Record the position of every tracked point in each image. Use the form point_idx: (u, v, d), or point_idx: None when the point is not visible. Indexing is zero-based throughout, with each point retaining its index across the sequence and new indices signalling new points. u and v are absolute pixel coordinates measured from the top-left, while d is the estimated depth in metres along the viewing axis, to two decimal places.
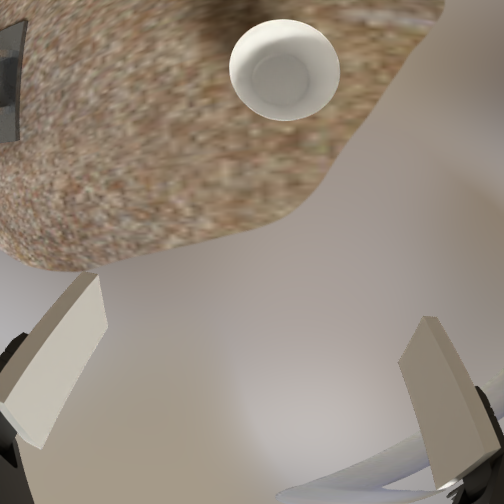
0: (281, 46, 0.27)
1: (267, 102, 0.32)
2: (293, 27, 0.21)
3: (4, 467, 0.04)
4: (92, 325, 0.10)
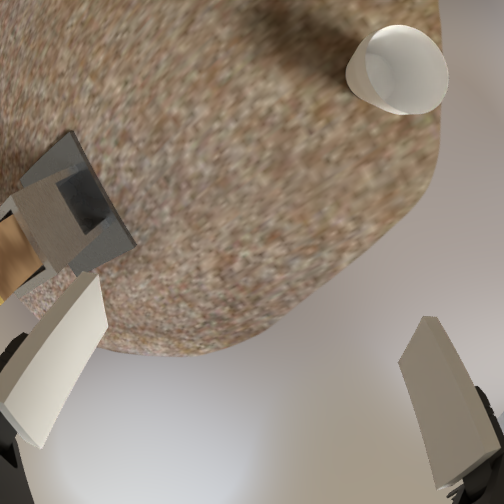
0: None
1: None
2: (382, 30, 0.21)
3: (4, 467, 0.04)
4: (92, 325, 0.10)
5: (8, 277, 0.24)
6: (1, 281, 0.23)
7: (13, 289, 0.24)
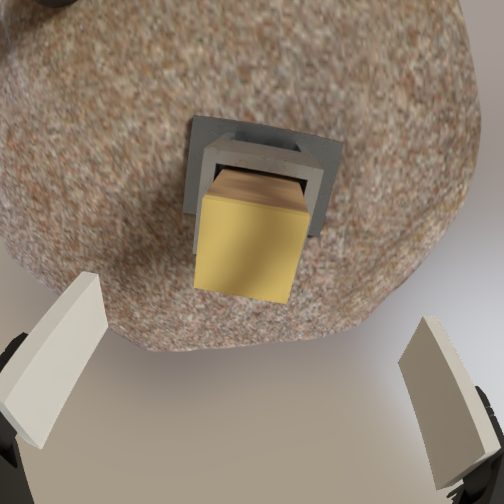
0: None
1: None
2: None
3: (4, 467, 0.04)
4: (92, 325, 0.10)
5: (285, 198, 0.22)
6: (283, 202, 0.21)
7: (302, 203, 0.22)
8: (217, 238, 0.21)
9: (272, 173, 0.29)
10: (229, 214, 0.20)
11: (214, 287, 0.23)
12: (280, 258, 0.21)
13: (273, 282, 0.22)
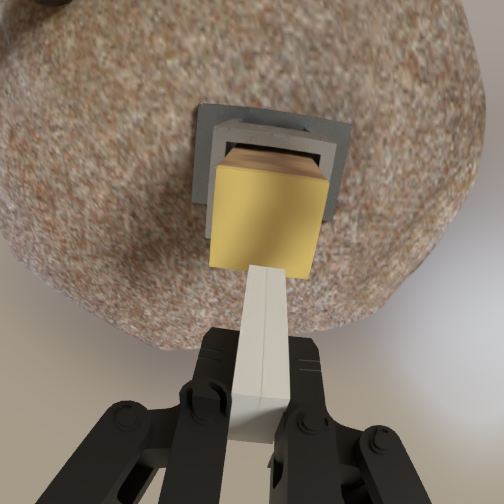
0: None
1: None
2: None
3: None
4: None
5: (301, 169, 0.21)
6: (299, 171, 0.20)
7: (319, 173, 0.21)
8: (233, 210, 0.20)
9: (284, 151, 0.28)
10: (245, 183, 0.19)
11: (231, 264, 0.21)
12: (300, 229, 0.20)
13: (293, 256, 0.21)
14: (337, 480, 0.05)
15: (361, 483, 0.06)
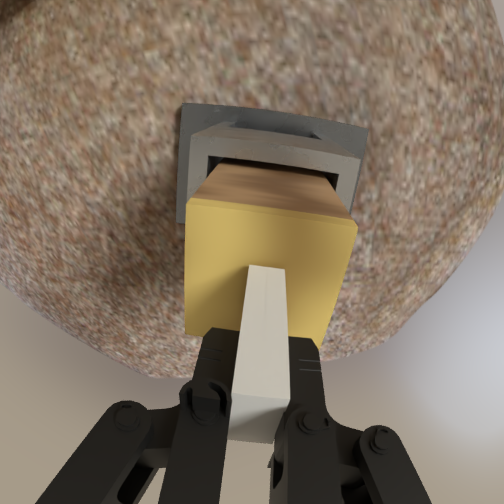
0: None
1: None
2: None
3: None
4: None
5: (313, 198, 0.15)
6: (312, 204, 0.14)
7: (340, 204, 0.14)
8: (213, 265, 0.13)
9: (287, 165, 0.21)
10: (230, 227, 0.12)
11: None
12: (312, 290, 0.14)
13: (301, 324, 0.15)
14: (337, 480, 0.05)
15: (361, 483, 0.06)
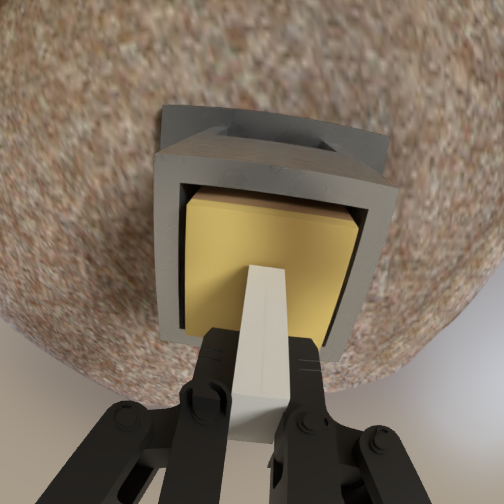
0: None
1: None
2: None
3: None
4: None
5: None
6: (312, 205, 0.14)
7: (340, 205, 0.14)
8: (214, 266, 0.13)
9: None
10: (231, 229, 0.12)
11: None
12: (312, 292, 0.14)
13: (301, 325, 0.15)
14: (337, 480, 0.05)
15: (361, 483, 0.06)
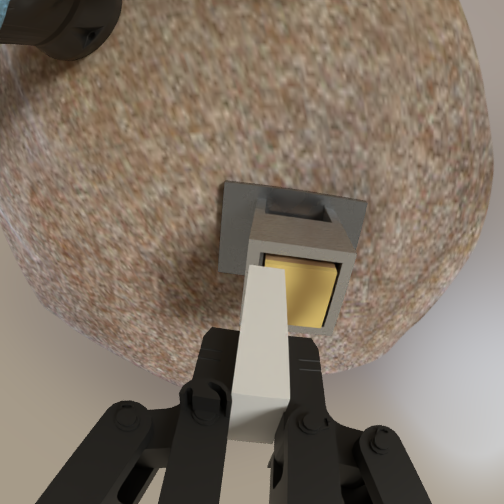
0: None
1: None
2: None
3: None
4: None
5: None
6: (317, 260, 0.31)
7: None
8: None
9: None
10: None
11: None
12: (317, 299, 0.30)
13: (312, 314, 0.31)
14: (337, 480, 0.05)
15: (361, 483, 0.06)
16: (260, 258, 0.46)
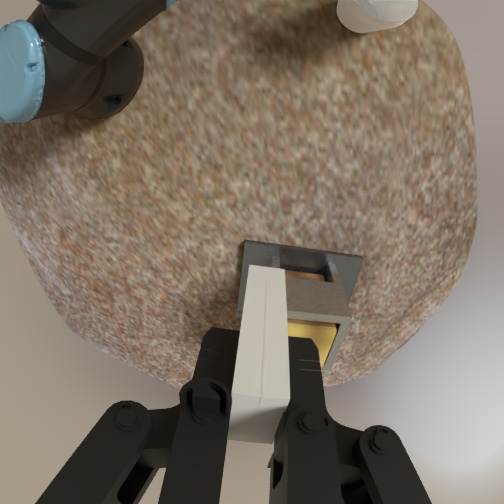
0: (337, 5, 0.30)
1: None
2: None
3: None
4: None
5: None
6: None
7: None
8: None
9: None
10: (297, 332, 0.38)
11: None
12: (321, 348, 0.39)
13: None
14: (337, 480, 0.05)
15: (361, 483, 0.06)
16: None
